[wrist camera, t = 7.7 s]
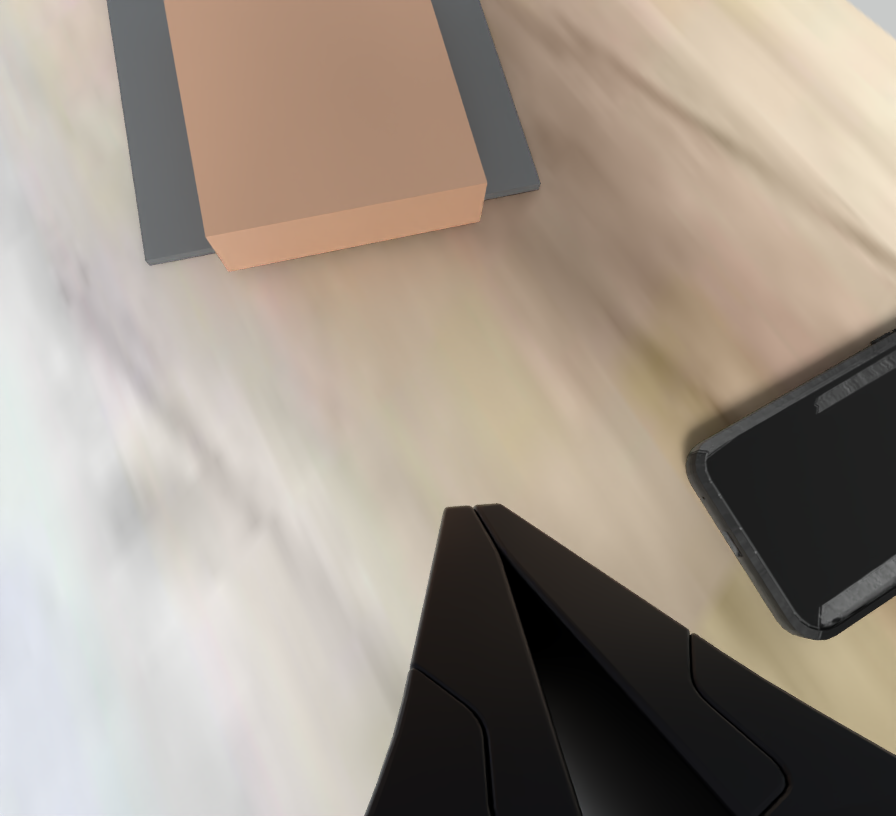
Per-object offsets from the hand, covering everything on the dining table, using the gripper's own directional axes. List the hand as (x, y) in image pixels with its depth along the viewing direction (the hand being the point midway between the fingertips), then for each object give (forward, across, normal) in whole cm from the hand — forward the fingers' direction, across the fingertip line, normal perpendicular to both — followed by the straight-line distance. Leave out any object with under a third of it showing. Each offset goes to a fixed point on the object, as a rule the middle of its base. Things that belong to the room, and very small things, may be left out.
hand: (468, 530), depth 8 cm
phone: (+9, -19, +5) cm, 22 cm away
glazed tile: (+16, +1, -2) cm, 16 cm away
